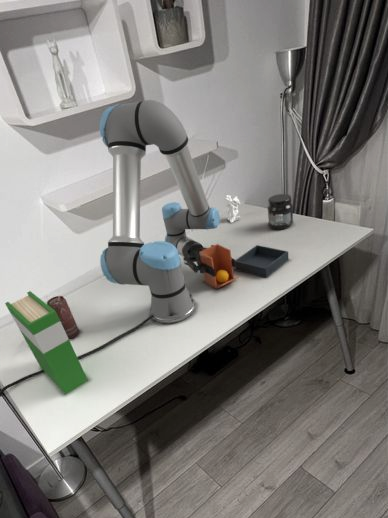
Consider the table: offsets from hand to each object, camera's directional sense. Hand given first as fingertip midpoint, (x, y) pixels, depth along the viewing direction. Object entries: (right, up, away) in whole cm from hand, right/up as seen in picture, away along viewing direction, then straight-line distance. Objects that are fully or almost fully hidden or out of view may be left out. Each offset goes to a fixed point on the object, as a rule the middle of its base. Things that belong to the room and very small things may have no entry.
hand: (224, 268), depth 139 cm
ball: (0, -2, +4) cm, 5 cm away
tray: (+15, +4, +12) cm, 19 cm away
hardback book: (-49, -36, -19) cm, 64 cm away
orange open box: (0, -4, +6) cm, 8 cm away
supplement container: (+27, +26, +36) cm, 52 cm away
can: (-52, -23, -3) cm, 57 cm away
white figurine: (+8, +33, +51) cm, 61 cm away
